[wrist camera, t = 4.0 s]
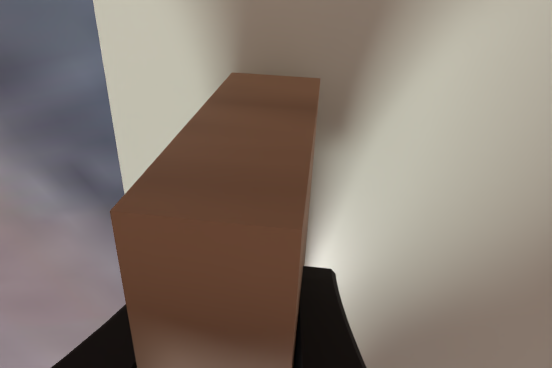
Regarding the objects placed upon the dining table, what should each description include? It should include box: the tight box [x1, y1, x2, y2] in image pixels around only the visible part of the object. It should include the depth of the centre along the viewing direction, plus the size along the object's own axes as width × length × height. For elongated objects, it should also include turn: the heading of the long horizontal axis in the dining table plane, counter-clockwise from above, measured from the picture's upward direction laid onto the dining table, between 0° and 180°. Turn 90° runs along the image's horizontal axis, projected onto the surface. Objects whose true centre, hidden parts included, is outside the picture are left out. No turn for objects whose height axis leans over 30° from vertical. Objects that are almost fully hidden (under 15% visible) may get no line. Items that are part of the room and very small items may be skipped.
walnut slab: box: [110, 72, 320, 368], centre depth 9 cm, size 8×2×6 cm, turn 178°
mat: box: [93, 0, 552, 368], centre depth 12 cm, size 16×14×1 cm
